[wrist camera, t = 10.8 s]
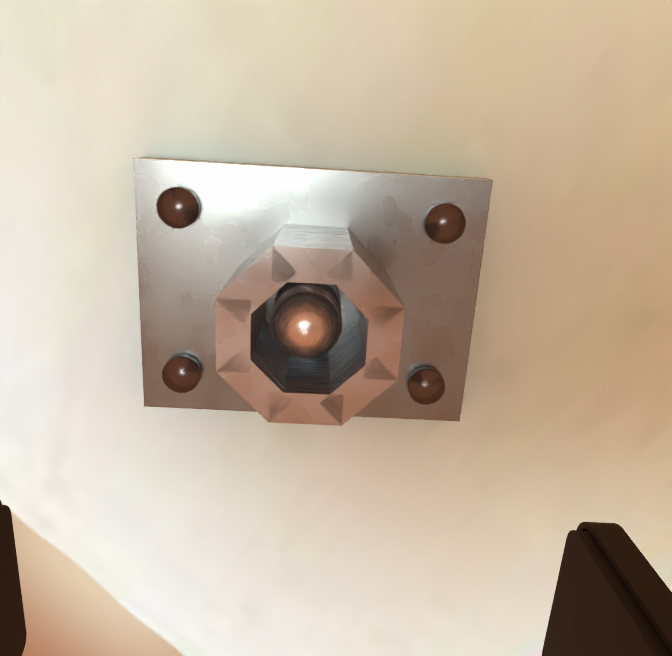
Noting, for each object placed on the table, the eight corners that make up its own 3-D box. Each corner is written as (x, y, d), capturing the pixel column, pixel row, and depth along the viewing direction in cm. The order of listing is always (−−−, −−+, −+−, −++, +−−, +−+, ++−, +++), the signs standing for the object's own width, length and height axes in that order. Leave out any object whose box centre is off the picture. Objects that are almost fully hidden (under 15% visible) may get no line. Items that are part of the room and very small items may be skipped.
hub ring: (392, 230, 27) (409, 253, 21) (379, 371, 29) (393, 427, 23) (239, 221, 26) (215, 242, 21) (238, 364, 28) (216, 419, 23)
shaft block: (483, 178, 27) (532, 188, 21) (453, 408, 31) (486, 477, 25) (143, 157, 27) (85, 161, 20) (152, 393, 30) (105, 461, 24)
